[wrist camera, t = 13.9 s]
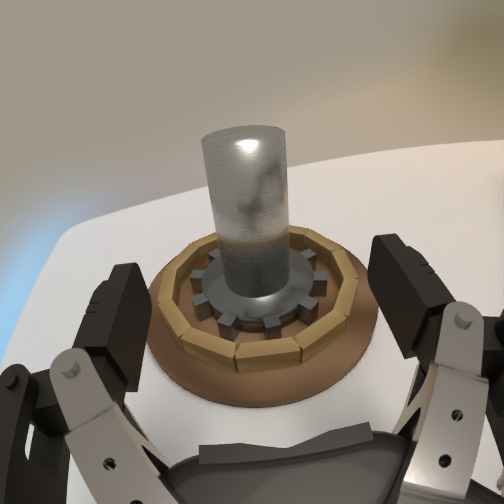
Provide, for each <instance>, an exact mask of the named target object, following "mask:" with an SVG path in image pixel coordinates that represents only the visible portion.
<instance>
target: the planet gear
mask: <svg viewBox="0 0 504 504" xmlns="http://www.w3.org/2000/svg"><path fill="white" fill-rule="evenodd" d="M201 143H202V150H203V156H204V162H205V169H206V175H207V181H208V187H209V193H210V199H211V205H212V211H213V217H214V223H215V229H216V234H217V240H218V246H219V249H217V248H216V249H214V250H213V251H211V252H210V253H208V257H209V262H210V264H209V265H208V266H207V268H206V270H193V271H192V273H191V275H190V282H191V285H192V289H193V292H194V294H198V295H196V296H193V297H191V301H192V305H193V308H194V311H195V314H196V316H197V318H198V319H199V321H200V322H201V321H203V320H206V319H208V318H210V317H214V318H215V319H216V320H217V325H218V329H219V333H220V337H221V338H223V339H226V340H228V341H231V342H234V341H235V339H236V338H237V336H238V334H239V333H240V332H247V333H264V335H265V338H266V340H273V339H281V338H282V333H281V328H284V327H286V326H288V325H290V324H292V323H294V322H295V321H296V320H299V321H301V322H303V323H305V324H306V325H308V326H310V325H311V324H312V323H313V322H314V321H315V320H316V319H317V318H318V307H319V301H318V300H316V299H314V298H312V297H326V292H327V282H328V279H327V271H315V270H316V257H317V254H316V253H314V252H313V251H312V250H311V249H307V250H304V251H302V252H300V253H299V252H297V251H295V250H293V249H291V248H289V213H288V185H287V162H286V143H285V131H284V130H282V129H280V128H277V127H273V126H263V125H252V126H239V127H232V128H227V129H222V130H219V131H215V132H212V133H210V134H208V135H206V136H205V137H203V138H202V140H201Z"/></svg>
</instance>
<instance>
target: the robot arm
mask: <svg viewBox="0 0 504 504" xmlns="http://www.w3.org/2000/svg"><path fill="white" fill-rule="evenodd" d="M367 279H368V284H369V287H370V290H371V291H372V293H373V295H374V297H375V299H376V301H377V303H378V305H379V307H380V309H381V311H382V313H383V315H384V317H385V319H386V321H387V323H388V325H389V327H390V329H391V331H392V333H393V335H394V338H395V340H396V342H397V344H398V346H399V348H400V350H401V352H402V355H403V357H404V359H408V358H412V357H415V356H417V358H418V360H419V363H418V364H417V367H416V370H415V373H414V377H413V380H412V383H411V387H410V390H409V393H408V396H407V399H406V402H405V405H404V408H403V411H402V413H401V415H400V418H399V419H398V421H397V423H396V425H395V427H394V429H393V431H392V433H388V432H382V431H371V428H370V424H369V422H365V423H361V424H357V425H353V426H349V427H345V428H340V429H335V430H331V431H328V432H325V433H323V434H321V435H319V436H316V437H314V438H312V439H309V440H307V441H305V442H302V443H300V444H297V445H295V446H292V447H289V448H276V447H267V446H258V445H251V444H244V443H236V444H219V445H199V455H196V456H193V457H190V458H187V459H185V460H183V461H181V462H179V463H177V464H175V465H174V466H171V465H170V463H169V462H168V461H167V460H166V459H165V457H164V456H163V455H162V454H161V453H160V452H159V451H158V449H157V448H156V447H155V446H154V445H153V443H152V442H151V440H150V439H149V438H148V436H147V435H146V433H145V432H144V430H143V429H142V427H141V426H140V424H139V423H138V421H137V420H136V418H135V417H134V415H133V414H132V412H131V411H130V409H129V407H128V406H127V404H126V403H125V402H124V398H125V393H126V392H138V386H139V380H140V374H141V368H142V362H143V356H144V351H145V345H146V340H147V335H148V330H149V325H150V320H151V315H152V302H151V297H150V294H149V292H148V289H147V286H146V284H145V281H144V278H143V276H142V273H141V270H140V268H139V266H138V264H137V263H126V264H118V265H115V266H114V267H113V269H112V272H111V274H110V277H109V279H108V280H106V281H103V282H102V283H101V284H100V285H99V286H98V287H97V288H96V290H95V291H94V292H93V295H92V297H91V300H90V302H89V305H88V307H87V309H86V314H84V317H83V319H82V322H81V325H80V327H79V330H78V333H77V335H76V338H75V341H74V344H73V346H72V348H71V349H68V350H65V351H63V352H62V353H60V354H59V355H58V356H57V357H56V358H55V359H54V361H53V362H52V364H51V367H50V369H47V370H43V371H40V372H36V373H32V374H31V373H30V372H29V371H28V370H27V368H26V367H25V366H23V365H21V364H14V365H11V366H9V367H8V368H6V369H5V370H4V371H3V372H2V374H1V375H0V504H66V497H67V482H68V471H69V461H70V452H71V454H72V456H73V459H74V461H75V463H76V465H77V467H78V469H79V471H80V473H81V475H82V477H83V479H84V481H85V483H86V484H87V486H88V488H89V490H90V492H91V494H92V495H93V497H94V499H95V501H96V502H97V504H504V468H503V471H502V475H501V476H500V477H499V479H498V480H497V488H498V490H499V491H502V493H501V495H499V494H497V493H495V492H493V491H492V490H490V489H488V488H486V487H485V486H483V485H481V484H479V483H478V482H476V481H474V480H473V479H471V476H472V472H473V468H474V465H475V461H476V457H477V453H478V448H479V444H480V439H481V434H482V429H483V423H484V417H485V414H486V416H487V419H488V422H489V424H490V427H491V430H492V433H493V435H494V438H495V441H496V444H497V447H498V450H499V453H500V457H501V460H502V463H503V467H504V309H503V311H502V313H501V315H500V317H488V316H482V315H481V314H480V312H479V311H478V310H477V309H476V308H475V307H473V306H472V305H470V304H468V303H465V302H460V301H457V302H456V300H455V299H454V297H453V296H452V294H451V293H450V292H449V290H448V289H447V287H446V286H445V285H444V283H443V282H442V281H441V279H440V278H439V277H438V275H437V274H435V271H434V270H433V269H432V267H431V266H429V263H428V262H427V261H426V259H425V258H424V257H423V256H422V254H421V253H419V252H418V251H416V250H415V249H413V248H412V247H410V246H406V245H405V244H404V243H403V241H402V240H401V239H400V238H399V236H398V235H397V234H395V233H394V234H385V235H376V236H374V238H373V241H372V247H371V253H370V259H369V265H368V271H367ZM30 424H31V425H33V426H34V432H33V437H32V442H31V448H30V454H29V460H28V459H27V457H26V455H25V444H26V439H27V434H28V429H29V425H30Z"/></svg>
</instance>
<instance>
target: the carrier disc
mask: <svg viewBox="0 0 504 504" xmlns="http://www.w3.org/2000/svg"><path fill="white" fill-rule="evenodd" d="M216 248H217V249H219V246H218V240H217V234H216V232H215V233H213V234H210V235H208V236H206V237H203V238H201V239H199V240H196V241H194V242H192V244H189V245H188V246H187V247H186V248H185V249H184V250H183V251H182V252H181V253H180V254H179V255H178V256H176V257H175V258H173V259H172V260H171V261H170V262H169V263H168V264H167V265H166V266H165V267H164V268H163V269H162V270H161V271H160V272H159V273H158V274H157V276H156V277H155V279H154V280H153V282H152V283H151V285H150V287H149V289H148V292H149V294H150V297H151V302H152V315H151V320H150V325H149V330H148V335H147V340H146V341H147V343H148V346H149V348H150V350H151V352H152V353H153V355H154V357H155V359H156V360H157V362H158V363H159V365H160V366H161V368H162V369H163V370H164V371H165V372H166V373H167V374H168V375H169V377H170V378H171V379H172V380H174V381H175V382H176V383H178V384H179V385H180V386H182V387H183V388H184V389H186V390H188V391H190V392H192V393H194V394H195V395H197V396H199V397H202V398H205V399H207V400H210V401H213V402H216V403H220V404H225V405H230V406H235V407H249V408H260V407H274V406H280V405H285V404H290V403H294V402H297V401H300V400H303V399H306V398H309V397H311V396H314V395H316V394H318V393H320V392H322V391H323V390H325V389H327V388H329V387H330V386H332V385H333V384H335V383H336V382H338V381H339V380H340V379H342V378H343V377H344V376H345V375H346V374H347V373H348V372H349V371H350V370H352V369H353V368H354V367H355V365H356V364H357V363H358V361H359V360H360V359H361V357H362V356H363V355H364V353H365V351H366V349H367V347H368V345H369V343H370V341H371V338H372V335H373V331H374V328H375V325H376V321H377V316H378V308H379V306H378V303H377V301H376V299H375V297H374V295H373V293H372V291H371V290H370V287H369V284H368V279H367V271H368V270H367V269H366V267H365V266H364V265H363V264H362V263H361V262H360V260H359V259H358V258H357V257H355V256H354V255H353V254H352V253H351V252H350V251H348V250H347V249H345V248H344V247H342V246H341V245H339V244H337V243H335V242H333V241H331V240H329V239H327V238H325V237H324V236H322V235H320V234H319V233H317V232H315V231H313V230H312V229H311V230H309V229H308V228H303V227H297V226H291V225H289V248H291V249H293V250H295V251H297V252H299V253H300V252H302V251H304V250H307V249H311V250H312V251H313V252H314V253H316V254H317V257H316V270H315V271H327V279H328V282H327V292H326V297H312V298H314V299H316V300H318V301H319V307H318V318H317V319H316V320H315V321H314V322H313V323H312V324H311V325H310V326H308V325H306V324H305V323H303V322H301V321H299V320H296V321H295V322H294V323H292V324H290V325H288V326H286V327H284V328H281V333H282V338H281V339H273V340H266V338H265V335H264V333H247V332H240V333H239V334H238V336H237V338H236V339H235V341H234V342H231V341H228V340H226V339H223V338H221V337H220V333H219V329H218V325H217V320H216V319H215V318H214V317H210V318H208V319H206V320H203V321H201V322H200V321H199V319H198V318H197V316H196V314H195V311H194V308H193V305H192V301H191V297H193V296H196V295H198V294H194V292H193V289H192V285H191V282H190V275H191V273H192V271H193V270H206V268H207V266H208V265H209V264H210V262H209V257H208V253H210V252H211V251H213V250H214V249H216Z"/></svg>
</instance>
